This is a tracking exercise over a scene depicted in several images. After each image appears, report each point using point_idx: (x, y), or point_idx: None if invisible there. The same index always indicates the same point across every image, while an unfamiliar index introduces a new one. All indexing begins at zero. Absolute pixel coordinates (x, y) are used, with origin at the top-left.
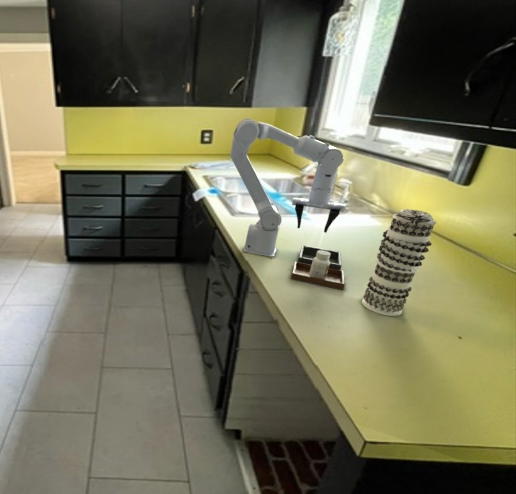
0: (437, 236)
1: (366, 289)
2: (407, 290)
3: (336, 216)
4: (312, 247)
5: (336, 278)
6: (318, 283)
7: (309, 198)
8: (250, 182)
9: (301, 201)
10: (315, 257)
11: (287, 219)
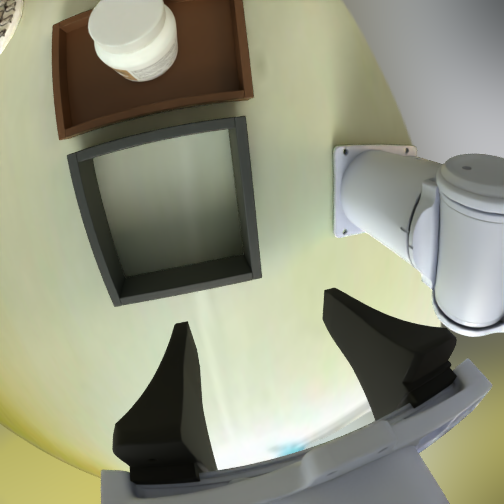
0: (77, 467)
1: (1, 2)
2: None
3: (124, 419)
4: (217, 279)
5: (81, 91)
6: None
7: (425, 466)
8: None
9: (459, 405)
10: (166, 26)
11: (312, 428)
